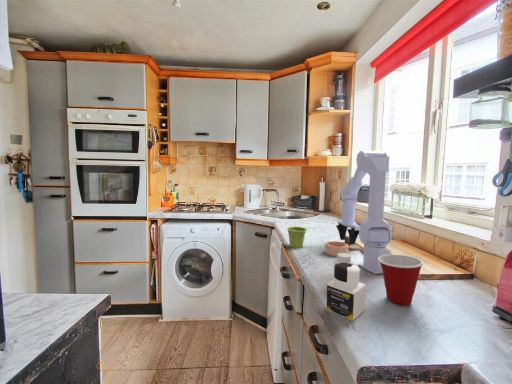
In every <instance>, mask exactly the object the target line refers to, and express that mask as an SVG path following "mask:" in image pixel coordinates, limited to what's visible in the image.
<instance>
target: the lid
mask: <svg viewBox="0 0 512 384" xmlns="http://www.w3.org/2000/svg"><path fill="white" fill-rule="evenodd" d="M343 242H344V243H346V244H348V250H349V251H348V252H356V251H355V250H358V251H360V250H359V249H360V247H361V246H360V245H359V244H357V243H355V244H352V245H351V244H350V241H349V235H346V236H345V240H344V241H343Z"/></svg>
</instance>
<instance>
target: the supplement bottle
mask: <svg viewBox="0 0 512 384" xmlns="http://www.w3.org/2000/svg"><path fill="white" fill-rule="evenodd" d="M338 263H350V264H353V265H354V262H353V261H352V255H351V254H350V253H348V254H347V253H338V254H337V257H336V259H334V265H333V267H334V266H335V265H336V264H338Z"/></svg>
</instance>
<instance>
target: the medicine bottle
mask: <svg viewBox="0 0 512 384" xmlns="http://www.w3.org/2000/svg"><path fill="white" fill-rule="evenodd" d="M333 269H334V270H333V271H334V272H333V273H334V274H333V279H332V280H331V281H330V282H328V283H327V284H326V310H327V311H328V312H331V313H333V314H335V315H338V316H339V315H340V317H342V318H344V317H345V319H346V318H347V319H346V320H349V321H351V322H353V321H354V319H355V320H356V319H357V318H358V317H359V316H360V315H361V314H363V312H364V311H365V306H366V284H365V283H363V282H360V268H359V267H358V266H357V265H356V264H354V263H353V264H350V263H338V264H336V265H335V266H334V265H333Z"/></svg>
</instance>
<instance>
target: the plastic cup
mask: <svg viewBox="0 0 512 384" xmlns="http://www.w3.org/2000/svg"><path fill="white" fill-rule="evenodd" d="M378 261H379V262H380V264H381V266H382V270H383V273H382V276H383V281H384V282H383V283H384V288H385V294H386V298H387V300H388V302H390V303H391V304H394V305H397V306H401V307H408V306H410V305H411V304H412V302H413V298H414V294H415V293H416V292H415V291H416V287H417V282H418V280H419V275H420V272H421V268H422V266H423V265H424V261H423V260H422V259H420V258H418V257H414V256H410V255H404V254H392V255H383V256H380V257H378Z"/></svg>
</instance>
